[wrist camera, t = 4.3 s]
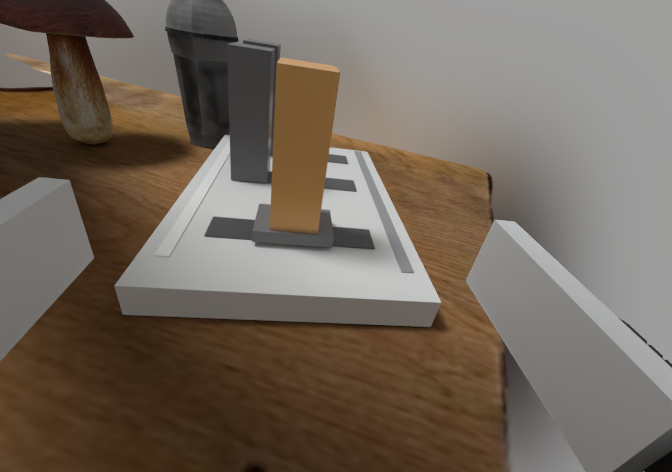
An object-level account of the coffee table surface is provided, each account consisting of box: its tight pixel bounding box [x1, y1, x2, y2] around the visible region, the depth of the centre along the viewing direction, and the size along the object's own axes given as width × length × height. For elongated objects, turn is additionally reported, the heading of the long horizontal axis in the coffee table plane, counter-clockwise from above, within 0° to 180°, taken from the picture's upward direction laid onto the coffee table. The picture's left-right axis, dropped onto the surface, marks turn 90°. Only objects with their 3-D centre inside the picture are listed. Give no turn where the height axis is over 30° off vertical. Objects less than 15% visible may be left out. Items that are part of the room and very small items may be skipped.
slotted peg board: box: [114, 39, 441, 327], centre depth 26 cm, size 17×26×12 cm, turn 5°
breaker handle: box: [252, 58, 340, 248], centre depth 19 cm, size 5×4×10 cm
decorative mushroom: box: [0, 0, 134, 145], centre depth 31 cm, size 11×11×15 cm
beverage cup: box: [165, 0, 238, 148], centre depth 35 cm, size 7×7×20 cm
